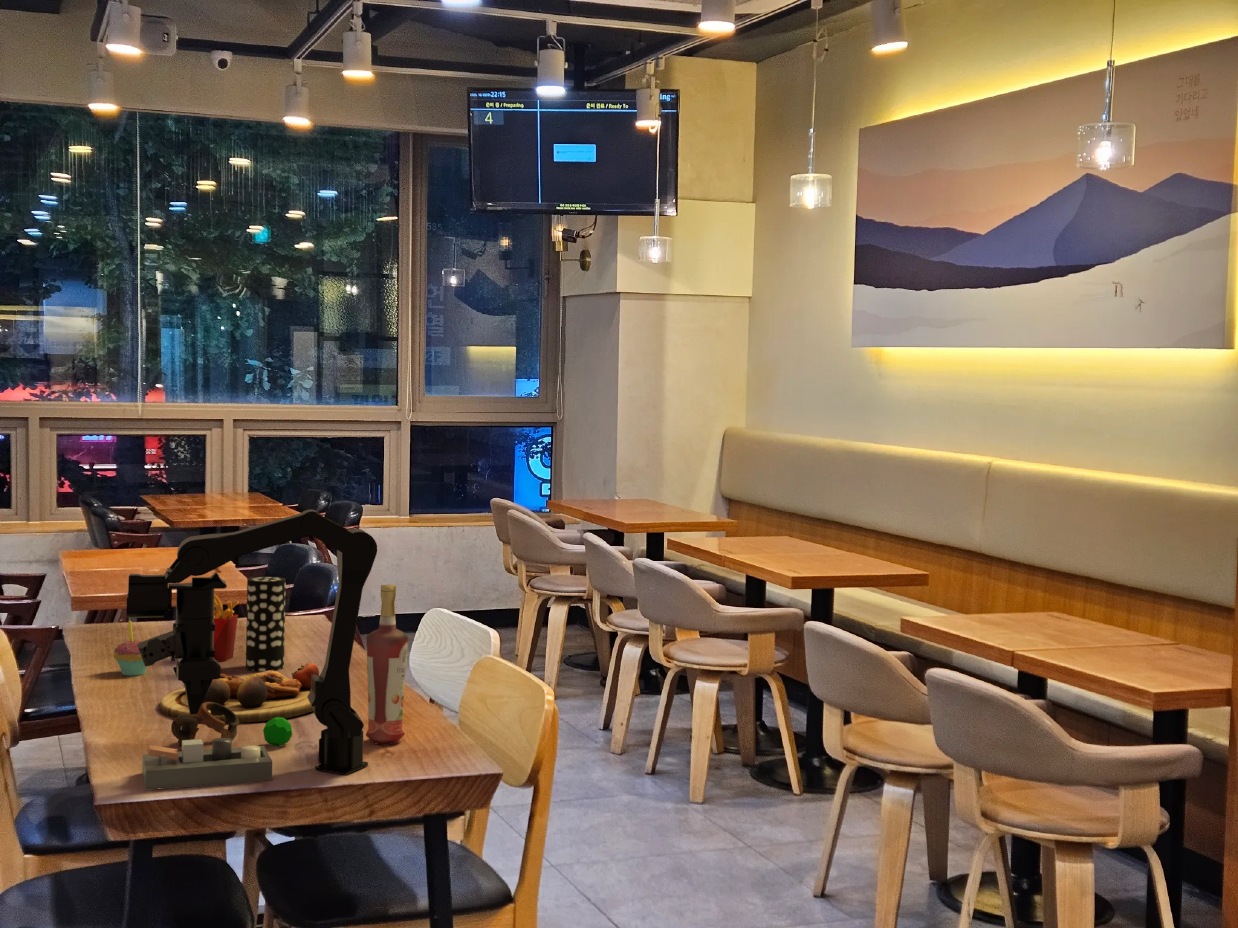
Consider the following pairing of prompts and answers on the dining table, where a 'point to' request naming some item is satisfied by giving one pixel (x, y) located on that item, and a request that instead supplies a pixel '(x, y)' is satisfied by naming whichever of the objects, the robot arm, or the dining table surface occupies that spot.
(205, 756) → the panel
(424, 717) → the dining table surface
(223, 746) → the black round button
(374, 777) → the dining table surface
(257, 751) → the white cylinder
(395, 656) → the liquor
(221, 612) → the french fries
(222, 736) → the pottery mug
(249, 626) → the spotted tube
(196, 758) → the grey square button
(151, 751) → the terracotta rocker
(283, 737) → the polyhedron
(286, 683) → the wooden plate with food
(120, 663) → the cupcake
